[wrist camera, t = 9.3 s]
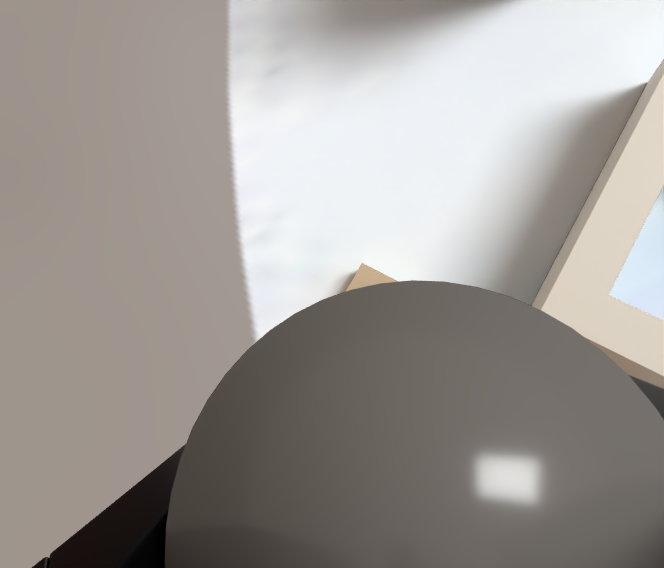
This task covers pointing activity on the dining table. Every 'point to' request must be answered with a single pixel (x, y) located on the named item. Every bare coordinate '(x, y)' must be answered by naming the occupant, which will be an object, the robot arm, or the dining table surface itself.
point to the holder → (614, 246)
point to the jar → (421, 443)
